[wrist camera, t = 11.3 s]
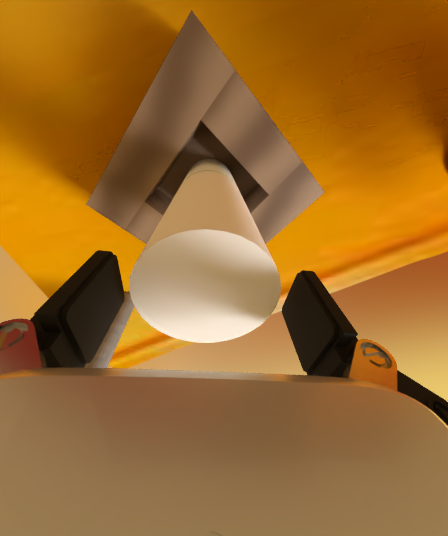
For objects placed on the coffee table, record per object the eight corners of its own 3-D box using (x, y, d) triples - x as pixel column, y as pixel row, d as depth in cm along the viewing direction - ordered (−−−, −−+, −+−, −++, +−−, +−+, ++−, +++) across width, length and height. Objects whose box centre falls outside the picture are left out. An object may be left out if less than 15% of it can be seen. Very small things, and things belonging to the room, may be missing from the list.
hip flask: (128, 289, 42) (75, 389, 26) (143, 299, 44) (103, 398, 28) (88, 322, 47) (22, 423, 31) (103, 330, 49) (49, 429, 33)
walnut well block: (300, 179, 31) (324, 192, 25) (214, 262, 39) (214, 288, 33) (197, 46, 22) (191, 10, 16) (113, 188, 30) (86, 204, 24)
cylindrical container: (187, 207, 32) (145, 343, 11) (184, 157, 28) (109, 227, 7) (231, 208, 32) (266, 341, 12) (234, 159, 28) (298, 231, 8)
